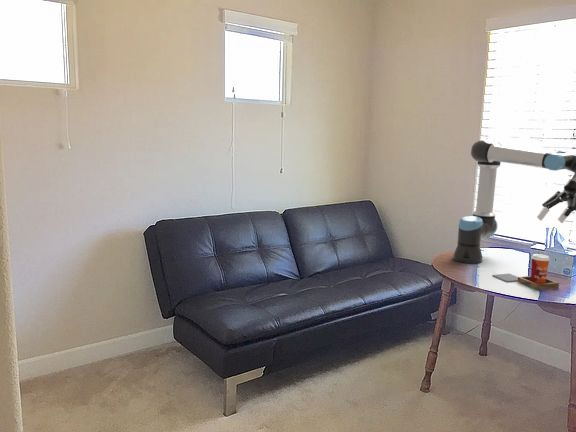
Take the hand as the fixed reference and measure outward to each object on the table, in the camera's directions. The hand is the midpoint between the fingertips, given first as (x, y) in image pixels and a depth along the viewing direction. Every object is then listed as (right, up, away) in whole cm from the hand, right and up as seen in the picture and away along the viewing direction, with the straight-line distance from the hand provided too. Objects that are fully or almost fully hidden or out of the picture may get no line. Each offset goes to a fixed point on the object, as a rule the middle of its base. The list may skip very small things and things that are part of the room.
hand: (549, 220), depth 228 cm
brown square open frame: (-6, -30, -2) cm, 31 cm away
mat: (-16, -28, +7) cm, 33 cm away
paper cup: (-6, -30, -2) cm, 31 cm away
